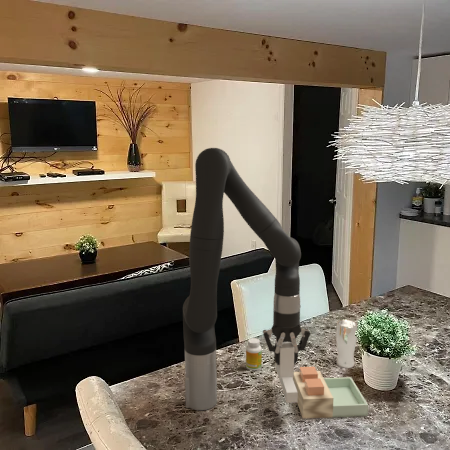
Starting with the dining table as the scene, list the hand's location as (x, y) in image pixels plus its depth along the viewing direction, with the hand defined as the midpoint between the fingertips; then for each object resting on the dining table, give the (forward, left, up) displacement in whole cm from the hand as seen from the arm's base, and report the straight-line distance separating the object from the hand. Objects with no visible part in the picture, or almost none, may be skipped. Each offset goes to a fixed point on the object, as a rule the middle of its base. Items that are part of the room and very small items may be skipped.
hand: (285, 363), depth 133 cm
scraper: (0, 0, -6) cm, 6 cm away
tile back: (+8, +3, -7) cm, 11 cm away
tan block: (+8, 0, -13) cm, 15 cm away
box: (+17, 0, -13) cm, 22 cm away
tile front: (+8, -4, -7) cm, 11 cm away
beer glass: (+25, +22, -13) cm, 36 cm away
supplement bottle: (-7, +22, -13) cm, 27 cm away
